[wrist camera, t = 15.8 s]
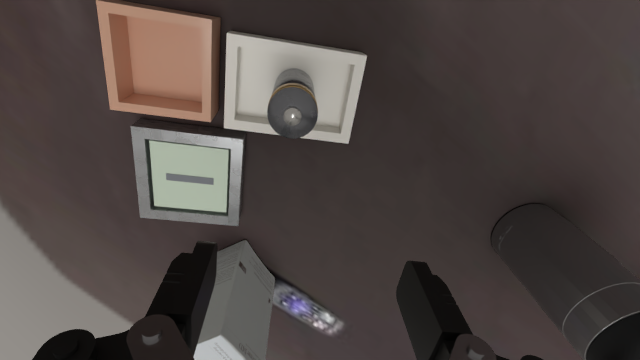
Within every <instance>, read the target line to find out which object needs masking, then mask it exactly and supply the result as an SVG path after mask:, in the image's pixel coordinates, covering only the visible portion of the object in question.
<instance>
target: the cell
mask: <svg viewBox="0 0 640 360" xmlns="http://www.w3.org/2000/svg"><path fill="white" fill-rule="evenodd" d="M267 117H268V121H269V124H270V125H271V127H272V128H273V130H274V131H275V132H277V133H278V134H279V135H281V136H283V137H286V138H300V137H303V136H305V135H307V134H308V133H309V132H310V131H311V130H312V129H313V128H314V126H315V125H316V122H317V118H318V107H317V102H316V99H315V93H314V87H313V82H312V80H311V78H310V76H309V75H308V74H307V73H306V72H304V71H303V70H300V69H297V68H291V69H287V70H285V71H283V72H282V73H280V75H279V76H278V77H277V79H276V82H275V85H274V88H273V92H272V95H271V97H270V100H269V104H268V110H267Z"/></svg>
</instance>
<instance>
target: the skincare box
mask: <svg viewBox="0 0 640 360" xmlns="http://www.w3.org/2000/svg"><path fill="white" fill-rule="evenodd" d="M274 285H275V277H274V276H273V275H272V274H271V273H270V272H269V271H268V269H267V268H266V267H265V266H264V264H263V263H262V262H261V260H260V259H259V258H258V256H257V255H256V254H255V252H254V251H253V249H252V248H251V246H250V245H249V243H248V242H247V241H246V240H243V241H241V242H239V243H236V244H234V245H232V246H229V247H227V248H225V249H223V250H220V251H218V252H217V270H216V279H215V285H214V289H213V292H212V295H211V299H210V302H209V306H208V309H207V312H206V316H205V319H204V323H203V326H202V330H201V333H200V336H199V340H198V343H197V347H196V350H195V354H194V357H193V358H194V360H265V359H266V350H267V343H268V334H269V326H270V318H271V310H272V301H273V294H274Z"/></svg>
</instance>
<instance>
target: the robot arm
mask: <svg viewBox="0 0 640 360" xmlns="http://www.w3.org/2000/svg"><path fill="white" fill-rule="evenodd" d="M491 242H492V246H493V248H494V250H495V251H496V252H497V254H498V255H499V256H500V257H501V259H502V260H503V261H504V262H505V263H506V265H507V266H508V267H509V269H510V270H511V271H512V272H513V274H514V275H515V276H516V277H517V278H518V280H519V281H520V282H521V283H522V285H523V286H524V287H525V288H526V290H527V291H528V292H529V293H530V295H531V296H532V297H533V298H534V299H535V301H536V302H537V303H538V304H539V306H540V307H541V308H542V309H543V311H544V312H545V313H546V314H547V316H548V317H549V318H550V319H551V321H552V322H553V323H554V324H555V325H556V327H557V328H558V329H559V330H560V332H561V333H562V334H563V335H564V337H565V338H566V339H567V340H568V341H569V343H570V344H571V345H572V346H573V348H574V349H575V350H576V351H577V352H578V354H579V355H580V356H581V357H582V359H583V360H640V279H638V278H637V277H636V276H635V275H633V274H632V273H631V272H630V271H628V270H627V269H626V268H625V267H623V266H622V264H621V262H620V261H618V260H617V259H616V258H615V257H613V256H612V255H611V254H610V253H608V252H607V251H606V250H605V249H603V248H602V247H601V246H600V245H598V244H597V243H596V242H595V241H593V240H592V239H591V238H590V237H588V236H587V235H586V234H585V233H583V232H582V231H581V230H580V229H578V228H577V227H576V226H575V225H573V224H572V223H571V222H570V221H568V220H567V219H566V218H565V217H563V216H560V215H559V214H558V213H556V212H555V211H554V210H553V209H551V208H550V207H548V206H546V205H543V204H528V205H524V206H521V207H518V208H516V209H514V210H512V211H511V212H509V213H508V214H506V215H505V216H504V217H503V218H502V219H501V220H500V221H499V222H498V223H497V225H496V226H495V228H494V230H493V233H492V237H491ZM216 270H217V243H215V242H204V241H198V242H197V243H196V246H195V248H194V251H193V253H192V254H190V253H181V254H180V255H179V256H178V257H176V258H175V259H174V260H173V261H172V262H171V264H170V266H169V268H168V271H167V274H166V275H165V277H164V279H163V282H162V283H161V285H160V287H159V289H158V291H157V293H156V295H155V297H154V299H153V301H152V304H151V306H150V308H149V310H148V312H147V314H146V316H145V317H144V318H142V319H140V320H139V321H137V322H136V323H135V324H134V325H133V326H132V327H131V328H130V330H127V331H125V332H122V333H119V334H115V335H111V336H106V337H101V338H96V339H95V338H94V336H93V334H92V333H90V332H89V331H86V330H82V329H74V330H69V331H65V332H62V333H60V334H58V335H56V336H54V337H52V338H51V339H49V340H48V341H47V342H46V343H44V344H43V346H42V347H41V348H40V349H39V350H38V352H37V354H36V355H35V356H34V358H33V359H32V360H194V358H193V357H194V354H195V350H196V347H197V343H198V340H199V336H200V333H201V330H202V326H203V323H204V319H205V316H206V312H207V309H208V306H209V302H210V299H211V295H212V292H213V289H214V285H215V279H216ZM396 296H397V302H398V305H399V308H400V311H401V314H402V317H403V320H404V323H405V326H406V329H407V332H408V335H409V338H410V340H411V343H412V346H413V349H414V352H415V355H416V358H417V360H509V359H506V358H503V357H500V356H498V355H495V353H494V351H493V350H492V348H491V347H490V346H489V345H488V344H487V343H486V342H485V341H484V340H482V339H481V338H479V337H477V336H475V335H473V334H472V332H471V330H470V328H469V326H468V324H467V322H466V321H465V319H464V317H463V315H462V313H461V311H460V309H459V307H458V306H457V305H456V302H455V300H454V298H453V297H452V294H451V292H450V291H449V289H448V287H447V285H446V284H445V283H444V282H443V281H442V280H441V279H440V278H439V277H438V276H437V275H432V273H431V271H430V269H429V267H428V265H427V263H425V262H417V261H407V262H406V264H405V267H404V269H403V272H402V275H401V278H400V280H399V283H398V286H397V292H396ZM521 360H543V359H541V358H539V357H536V356H532V355H526V356H523V357H522V358H521Z"/></svg>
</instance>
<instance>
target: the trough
mask: <svg viewBox="0 0 640 360" xmlns="http://www.w3.org/2000/svg"><path fill="white" fill-rule="evenodd" d="M366 59H367V55H365V54H364V53H363V52H357V51H351V50H345V49H339V48H333V47H327V46H321V45H315V44H309V43H303V42H297V41H291V40H285V39H279V38H273V37H266V36H260V35H254V34H248V33H242V32H236V31H230V32H228V33H227V40H226V74H225V107H224V128H226V129H234V130H242V131H250V132H258V133H266V134H274V135H279V134H278V133H277V132H275V131H274V130H273V128H272V127H271V125H270V124H269V121H268V117H267V110H268V104H269V100H270V97H271V95H272V92H273V88H274V85H275V82H276V79H277V77H278V76H279V75H280V73H282V72H283V71H285V70H287V69H291V68H297V69H300V70H303V71H304V72H306V73H307V74H308V75H309V76H310V78H311V80H312V82H313V87H314V93H315V99H316V102H317V107H318V118H317V122H316V125H315V126H314V128H313V129H312V130H311V131H310V132H309V133H308V134H307V135H305V136H303V137H300V138H306V139H314V140H322V141H330V142H338V143H346V144H348V143H349V138H350V134H351V129H352V124H353V120H354V115H355V110H356V106H357V101H358V96H359V92H360V87H361V82H362V78H363V73H364V68H365V64H366Z"/></svg>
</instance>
